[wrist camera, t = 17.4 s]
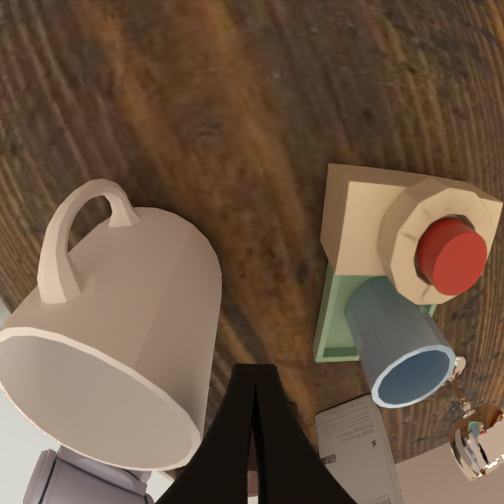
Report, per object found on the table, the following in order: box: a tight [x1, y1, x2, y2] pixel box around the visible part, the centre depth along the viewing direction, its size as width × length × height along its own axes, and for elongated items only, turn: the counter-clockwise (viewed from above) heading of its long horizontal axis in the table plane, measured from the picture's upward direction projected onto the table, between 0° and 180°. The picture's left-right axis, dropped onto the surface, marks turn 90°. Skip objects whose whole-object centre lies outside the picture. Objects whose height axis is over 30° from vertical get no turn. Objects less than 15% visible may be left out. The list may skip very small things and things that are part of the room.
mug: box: [0, 179, 222, 471], centre depth 14 cm, size 10×12×12 cm
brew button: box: [417, 217, 487, 296], centre depth 12 cm, size 3×3×2 cm
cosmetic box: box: [315, 394, 404, 504], centre depth 22 cm, size 6×4×12 cm
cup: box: [345, 276, 456, 408], centre depth 18 cm, size 5×5×7 cm
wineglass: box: [441, 356, 504, 481], centre depth 20 cm, size 6×6×12 cm
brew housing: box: [320, 163, 503, 305], centre depth 15 cm, size 6×10×6 cm, turn 88°
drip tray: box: [312, 260, 437, 362], centre depth 21 cm, size 8×8×2 cm
